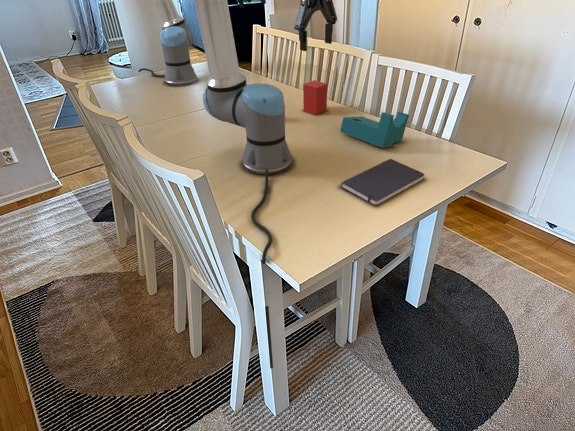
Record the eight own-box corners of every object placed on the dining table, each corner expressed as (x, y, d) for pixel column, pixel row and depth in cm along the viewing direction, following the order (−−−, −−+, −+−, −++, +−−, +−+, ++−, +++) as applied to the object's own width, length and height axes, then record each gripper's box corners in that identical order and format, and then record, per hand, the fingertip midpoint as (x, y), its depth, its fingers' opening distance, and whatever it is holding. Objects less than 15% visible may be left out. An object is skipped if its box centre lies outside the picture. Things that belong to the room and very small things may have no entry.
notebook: (389, 163, 124) (340, 187, 113) (390, 158, 123) (341, 182, 112) (424, 178, 116) (375, 206, 105) (425, 174, 115) (376, 201, 104)
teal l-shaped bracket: (400, 145, 137) (409, 114, 132) (382, 147, 129) (391, 115, 125) (358, 130, 148) (365, 101, 143) (340, 131, 140) (346, 101, 136)
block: (326, 110, 161) (327, 83, 154) (316, 115, 157) (316, 87, 151) (313, 106, 165) (314, 80, 158) (303, 110, 161) (303, 84, 155)
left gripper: (264, -50, 187) (266, 1, 199) (221, -47, 173) (226, 8, 185) (275, -50, 183) (277, 2, 195) (232, -47, 168) (237, 10, 181)
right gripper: (332, -25, 144) (330, 38, 156) (282, -18, 129) (284, 52, 142) (349, -24, 139) (345, 41, 152) (299, -16, 125) (300, 55, 138)
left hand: (252, 5), depth 190 cm, fingers open, 13 cm apart
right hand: (316, 46), depth 147 cm, fingers open, 13 cm apart
